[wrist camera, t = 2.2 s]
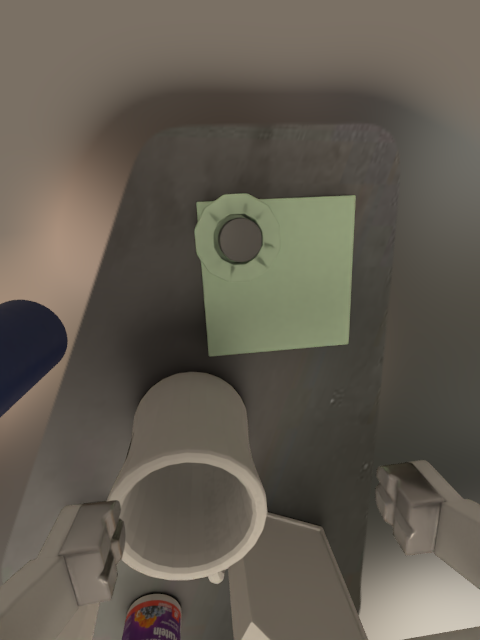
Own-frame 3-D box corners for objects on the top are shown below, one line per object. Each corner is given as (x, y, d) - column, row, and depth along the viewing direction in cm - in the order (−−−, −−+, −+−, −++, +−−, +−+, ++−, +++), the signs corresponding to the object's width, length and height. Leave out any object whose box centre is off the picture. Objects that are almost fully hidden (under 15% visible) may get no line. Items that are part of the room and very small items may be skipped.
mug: (120, 384, 25) (72, 478, 16) (231, 355, 26) (250, 429, 16) (166, 503, 29) (150, 638, 19) (263, 475, 29) (294, 594, 20)
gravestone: (309, 547, 32) (432, 904, 15) (224, 525, 30) (255, 910, 13) (322, 526, 32) (463, 873, 15) (236, 503, 30) (285, 874, 13)
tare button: (219, 260, 21) (220, 263, 19) (216, 219, 20) (218, 218, 19) (258, 258, 21) (263, 260, 20) (256, 217, 21) (261, 216, 19)
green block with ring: (205, 350, 25) (205, 365, 23) (192, 199, 22) (191, 195, 19) (341, 338, 27) (358, 351, 24) (347, 193, 23) (367, 188, 21)
